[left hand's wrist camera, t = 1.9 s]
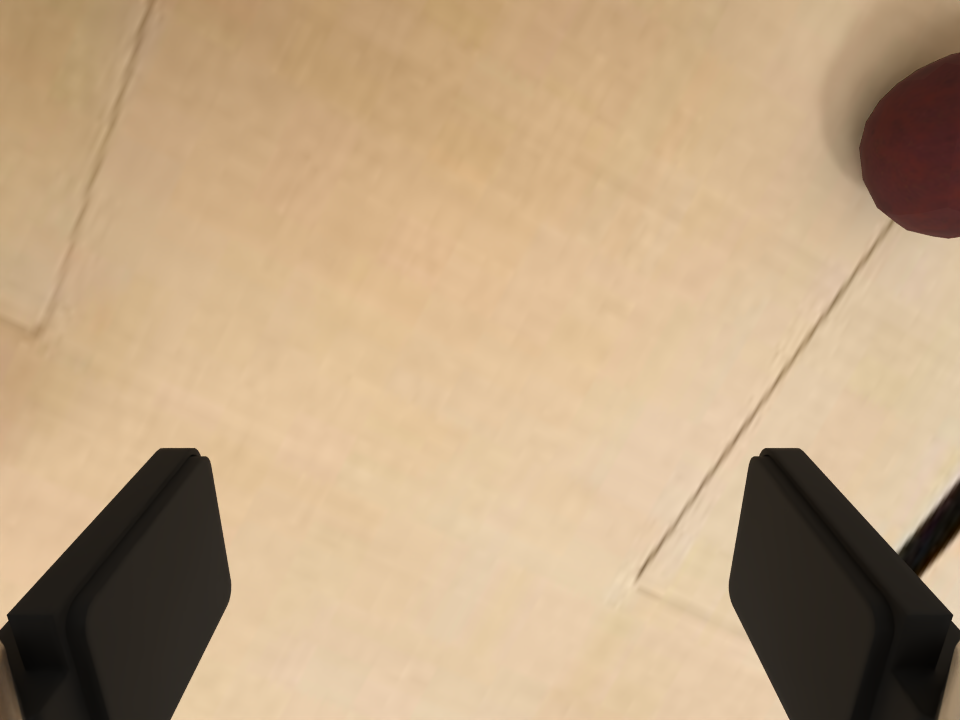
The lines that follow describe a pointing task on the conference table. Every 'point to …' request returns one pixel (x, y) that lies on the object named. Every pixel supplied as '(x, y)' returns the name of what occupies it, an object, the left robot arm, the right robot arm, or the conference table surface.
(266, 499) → the conference table surface
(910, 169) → the dark maroon ball
